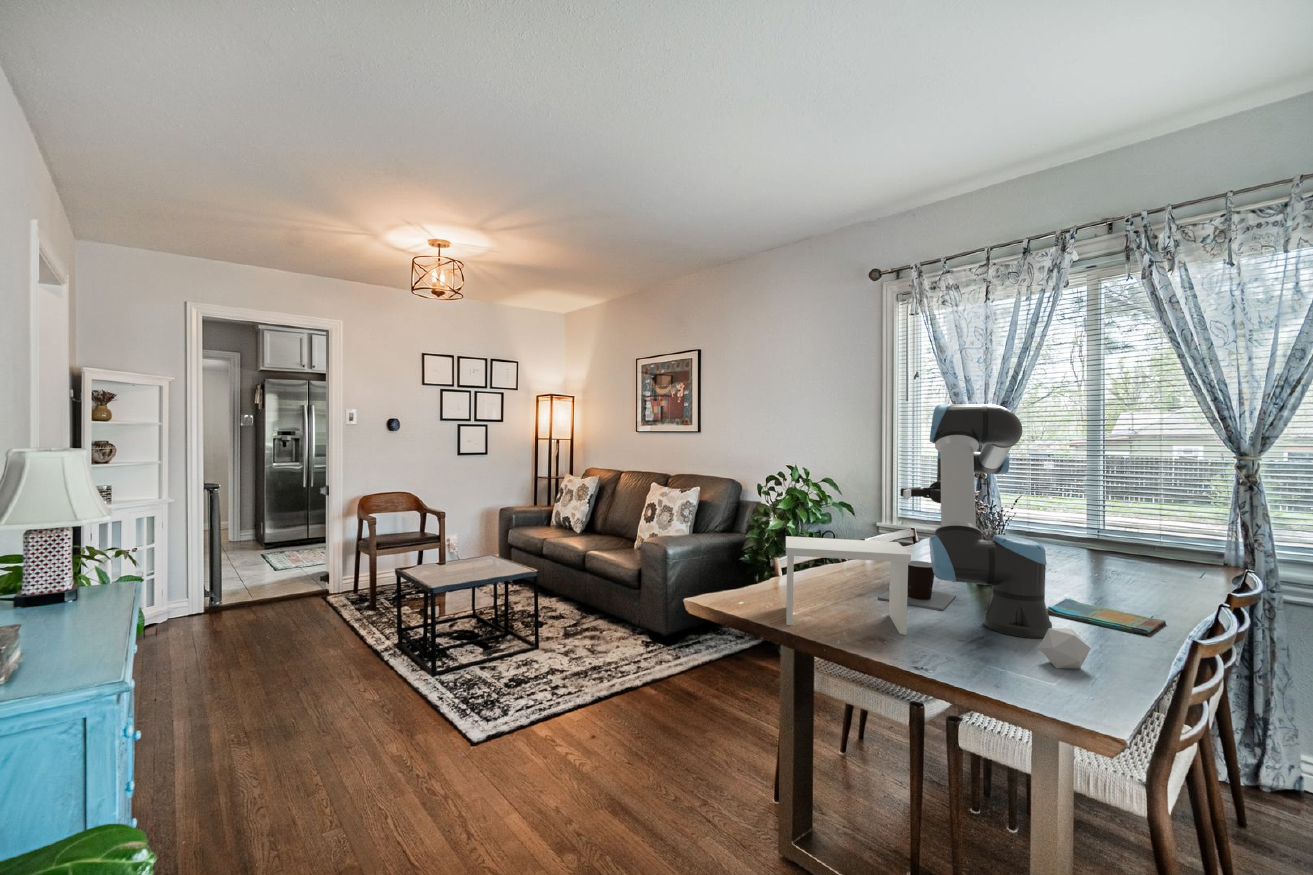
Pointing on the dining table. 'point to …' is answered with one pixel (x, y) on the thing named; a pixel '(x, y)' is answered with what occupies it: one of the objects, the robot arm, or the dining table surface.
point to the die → (1064, 648)
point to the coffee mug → (920, 580)
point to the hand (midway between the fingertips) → (927, 496)
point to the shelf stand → (859, 552)
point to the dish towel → (1106, 617)
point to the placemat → (936, 602)
